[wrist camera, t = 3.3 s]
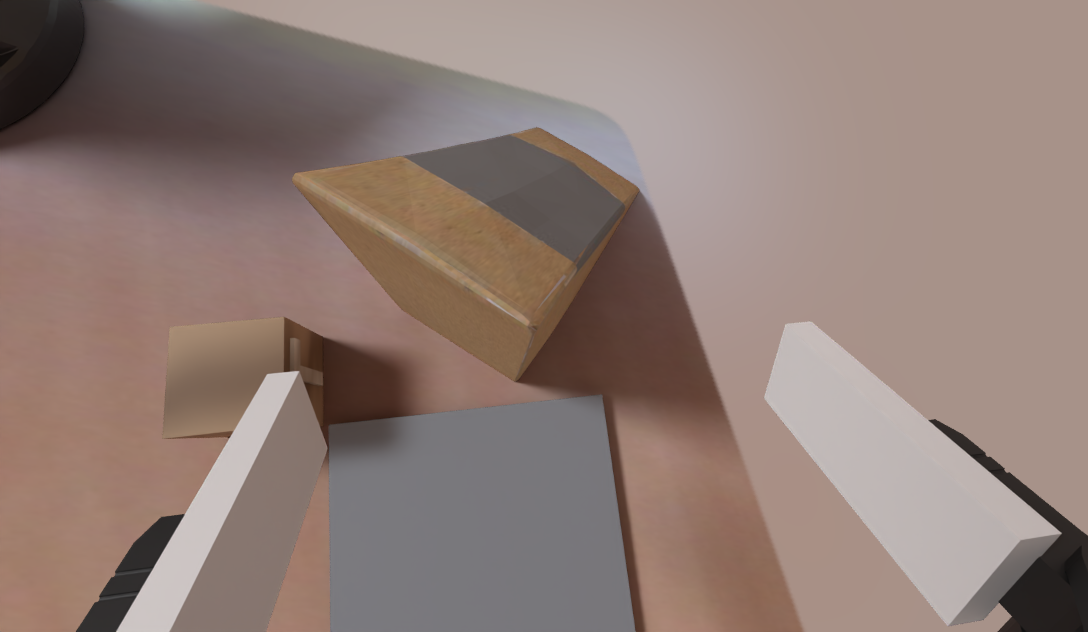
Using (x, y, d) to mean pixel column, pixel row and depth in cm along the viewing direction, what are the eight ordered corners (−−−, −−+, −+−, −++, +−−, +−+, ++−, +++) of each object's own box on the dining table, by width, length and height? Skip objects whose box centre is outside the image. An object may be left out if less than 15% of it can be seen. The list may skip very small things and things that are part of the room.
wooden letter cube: (230, 345, 26) (169, 326, 22) (326, 336, 27) (288, 316, 22) (227, 437, 25) (162, 438, 20) (327, 425, 26) (288, 424, 21)
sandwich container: (645, 189, 31) (770, -23, 17) (520, 386, 27) (539, 335, 13) (535, 123, 32) (563, -139, 17) (397, 308, 28) (282, 173, 13)
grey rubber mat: (332, 425, 26) (328, 424, 25) (599, 395, 27) (602, 394, 27) (337, 877, 21) (332, 889, 21) (657, 809, 23) (661, 819, 22)
